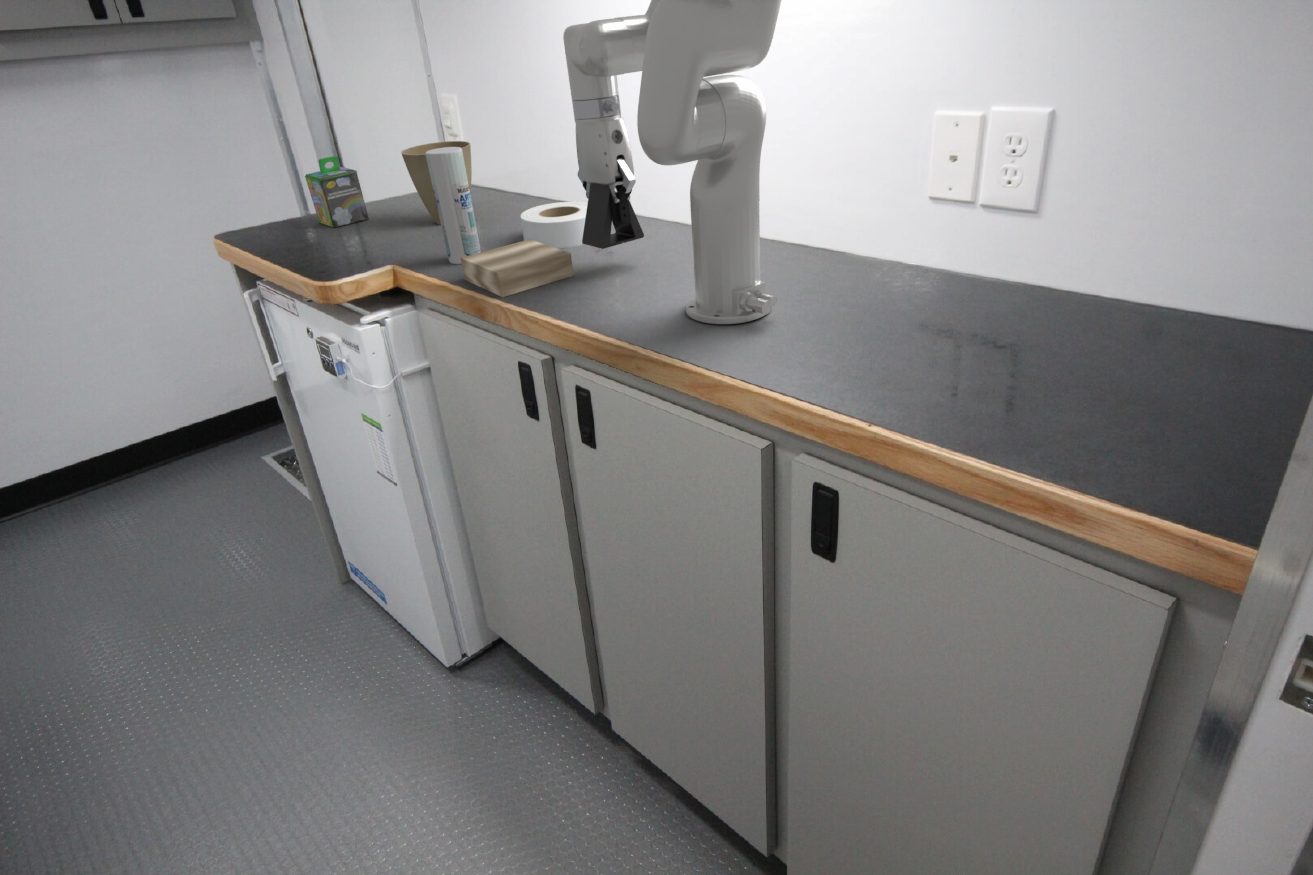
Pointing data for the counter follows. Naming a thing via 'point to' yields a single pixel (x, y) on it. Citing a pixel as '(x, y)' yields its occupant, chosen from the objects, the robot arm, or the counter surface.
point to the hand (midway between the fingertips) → (611, 222)
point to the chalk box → (336, 194)
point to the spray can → (453, 202)
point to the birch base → (517, 267)
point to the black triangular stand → (606, 220)
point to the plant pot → (421, 175)
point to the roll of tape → (555, 224)
